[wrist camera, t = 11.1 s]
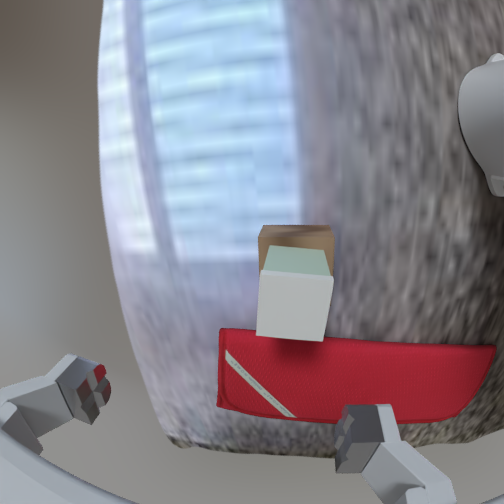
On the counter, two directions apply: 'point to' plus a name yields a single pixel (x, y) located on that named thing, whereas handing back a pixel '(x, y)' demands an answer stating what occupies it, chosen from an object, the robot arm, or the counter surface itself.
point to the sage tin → (294, 294)
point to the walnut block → (297, 240)
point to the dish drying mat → (346, 376)
